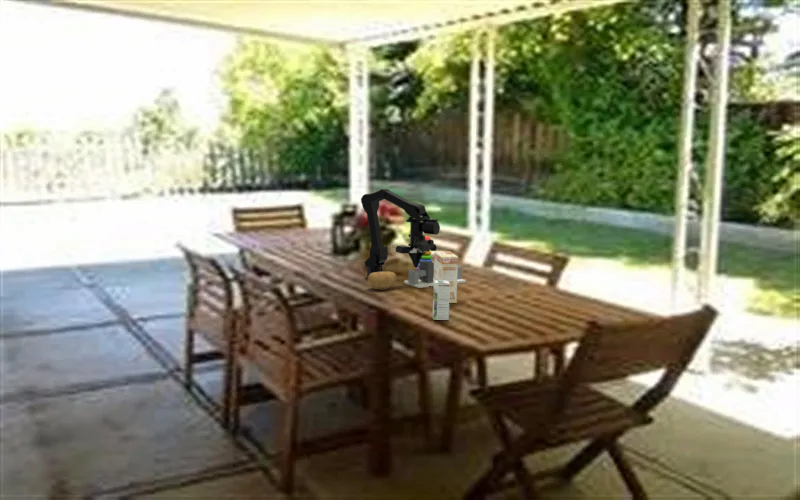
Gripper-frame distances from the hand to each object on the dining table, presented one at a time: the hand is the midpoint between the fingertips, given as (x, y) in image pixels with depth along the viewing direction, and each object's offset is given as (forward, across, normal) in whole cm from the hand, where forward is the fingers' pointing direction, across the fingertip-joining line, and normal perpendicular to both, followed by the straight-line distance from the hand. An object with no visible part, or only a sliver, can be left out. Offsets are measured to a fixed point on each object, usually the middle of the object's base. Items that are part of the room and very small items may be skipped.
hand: (415, 267), depth 400 cm
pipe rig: (+8, +11, 0) cm, 13 cm away
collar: (+7, +6, 0) cm, 9 cm away
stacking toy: (+8, +17, +17) cm, 25 cm away
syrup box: (+8, -28, -58) cm, 65 cm away
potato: (+8, -18, -1) cm, 20 cm away
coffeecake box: (+8, -7, -32) cm, 34 cm away
